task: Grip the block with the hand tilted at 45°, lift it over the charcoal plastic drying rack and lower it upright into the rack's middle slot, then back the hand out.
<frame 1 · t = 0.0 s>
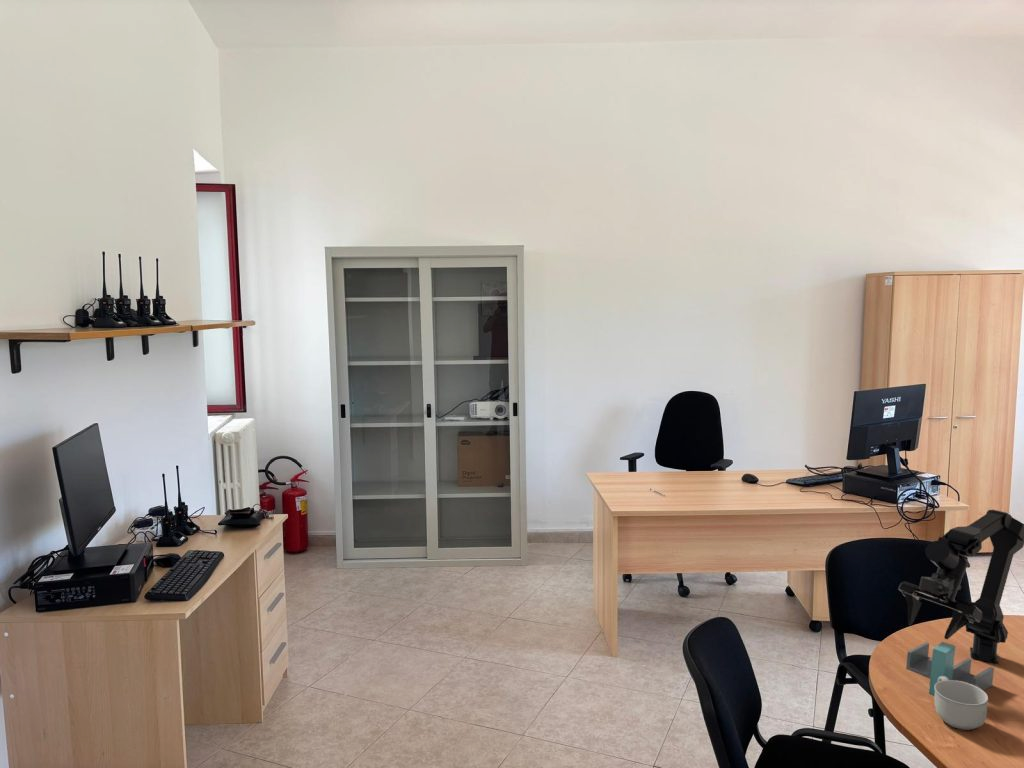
hand: (927, 631, 188), 15 cm above the table, tool tilted 35°, fingers open, 9 cm apart
teacup: (955, 719, 176), on the table
rack: (948, 676, 196), on the table
block: (940, 692, 188), on the table
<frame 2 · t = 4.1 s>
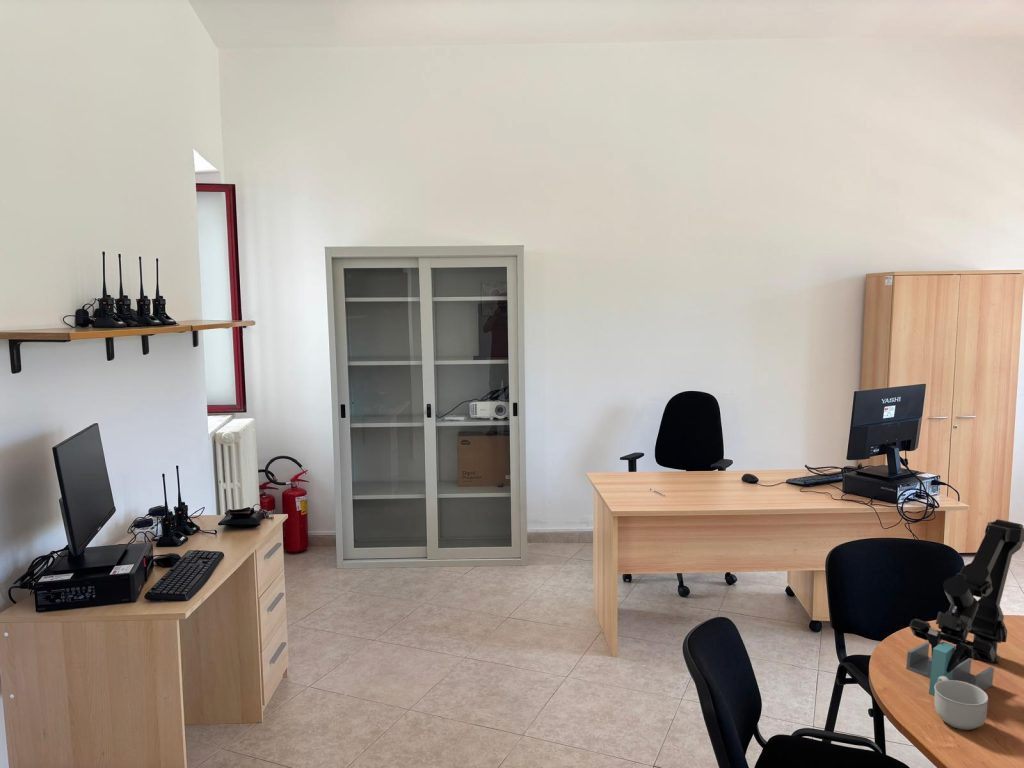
hand: (940, 669, 186), 7 cm above the table, tool tilted 45°, fingers closed on block, 3 cm apart
block: (940, 692, 188), on the table, touching gripper
everything else where it was.
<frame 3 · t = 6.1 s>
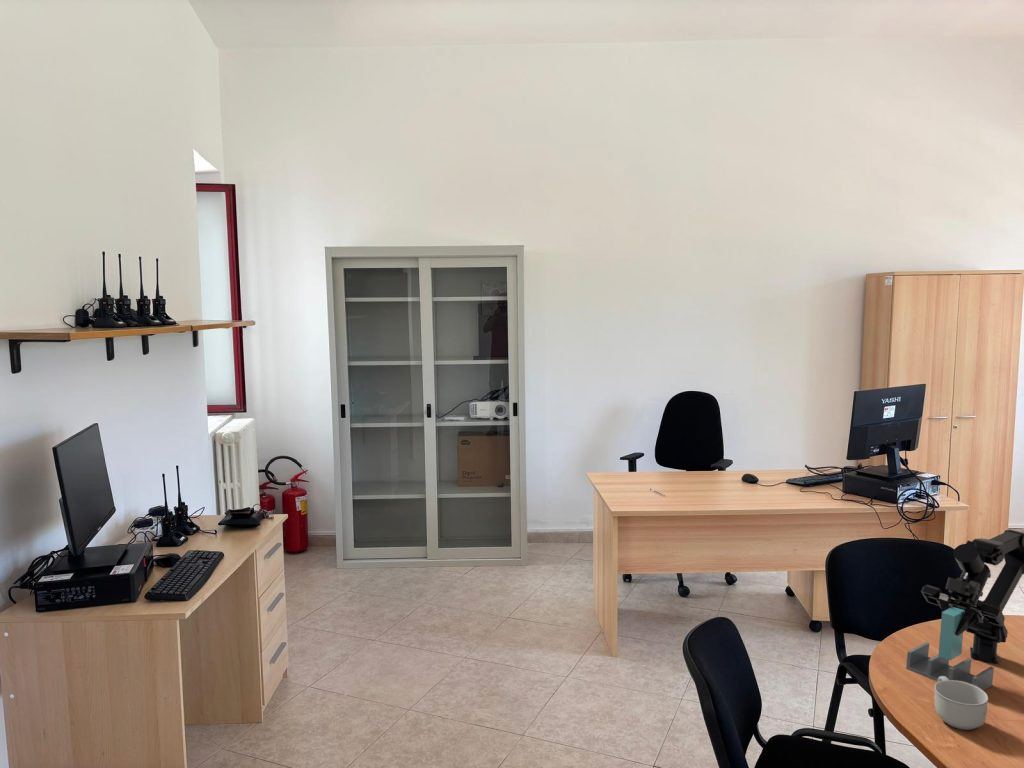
hand: (949, 632, 192), 13 cm above the table, tool tilted 45°, fingers closed on block, 3 cm apart
block: (949, 654, 194), point 7 cm above the table, touching gripper
everything else where it was.
when the fingers open (9 cm above the table, at t = 8.0 s): block drops 1 cm, resting on rack.
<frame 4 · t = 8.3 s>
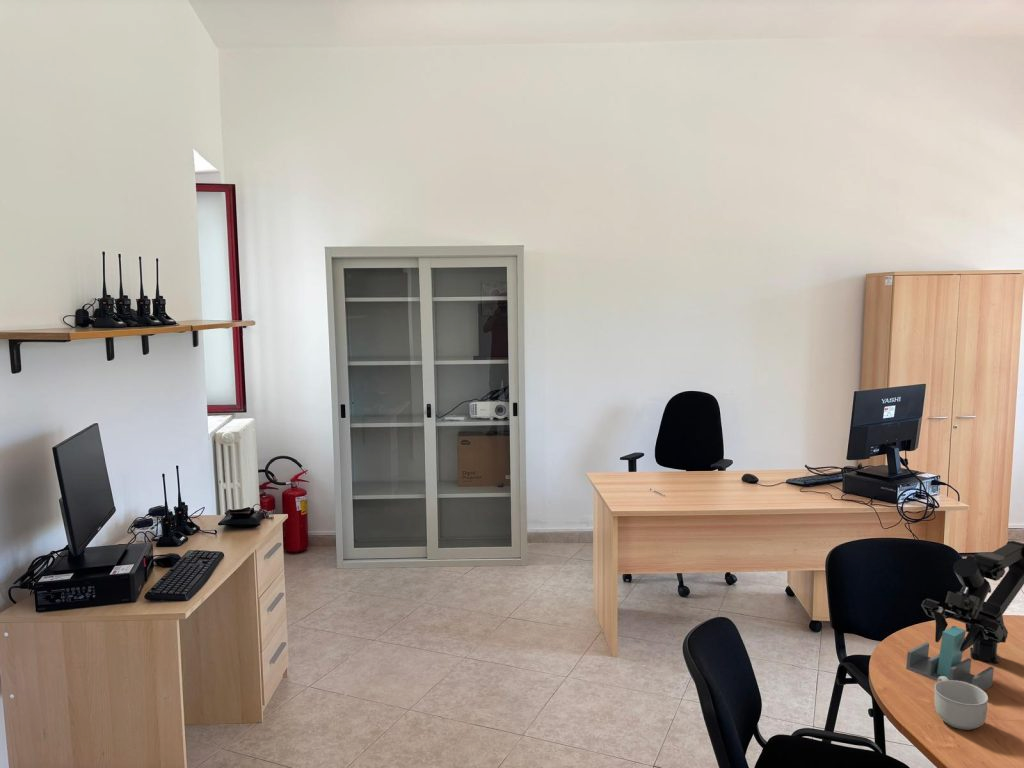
hand: (948, 646, 194), 9 cm above the table, tool tilted 45°, fingers open, 6 cm apart
block: (948, 673, 195), point 1 cm above the table, touching rack
everything else where it was.
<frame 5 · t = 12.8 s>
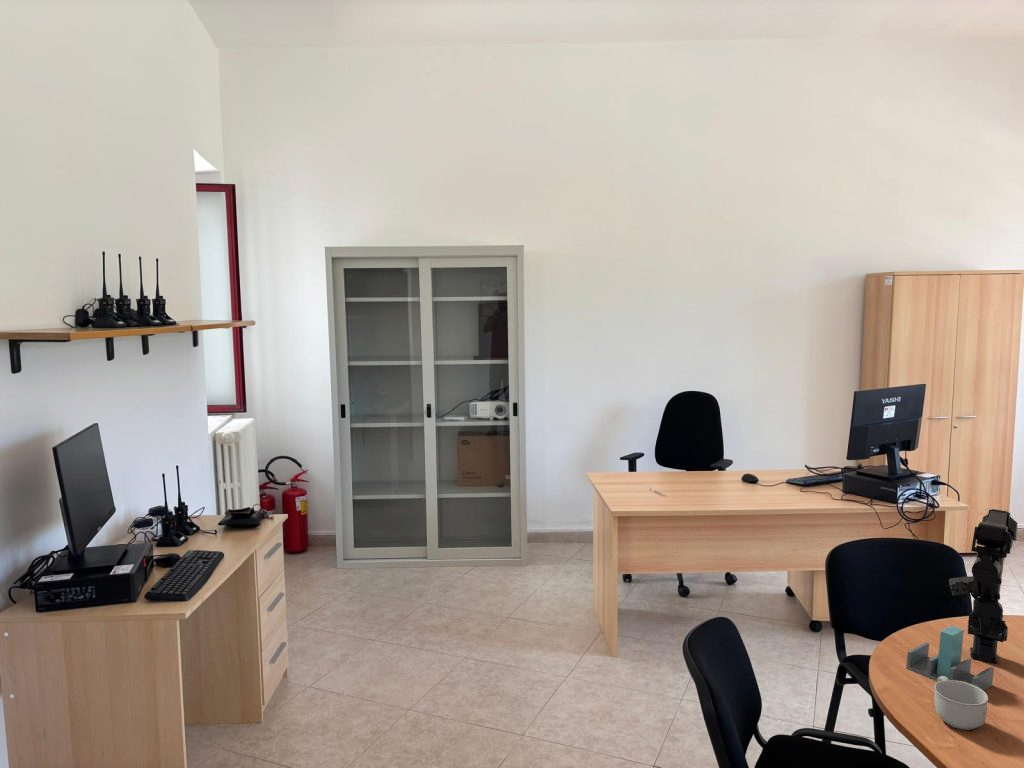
hand: (982, 628, 195), 13 cm above the table, tool pointing down, fingers open, 9 cm apart
nothing on the table moved.
at the end: block 0.1 cm off-centre on the rack, point 0.8 cm above the rack's base; block tilted 0°; the gripper is holding nothing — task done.
